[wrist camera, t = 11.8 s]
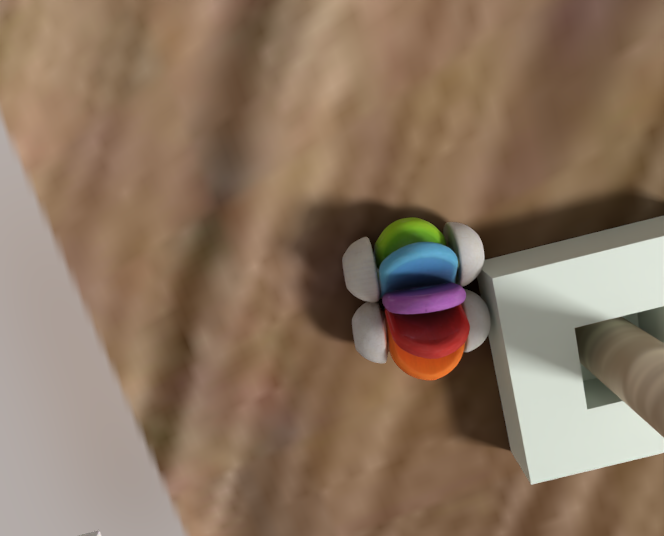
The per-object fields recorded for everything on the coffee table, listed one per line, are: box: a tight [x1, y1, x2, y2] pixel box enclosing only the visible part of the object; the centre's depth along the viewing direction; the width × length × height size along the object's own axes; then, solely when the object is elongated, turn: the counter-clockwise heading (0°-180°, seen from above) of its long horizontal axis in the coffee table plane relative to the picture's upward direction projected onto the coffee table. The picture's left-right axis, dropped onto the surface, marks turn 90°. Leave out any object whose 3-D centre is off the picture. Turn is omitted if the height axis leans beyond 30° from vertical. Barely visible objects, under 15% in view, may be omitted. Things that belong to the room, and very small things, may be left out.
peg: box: [575, 317, 664, 437], centre depth 34 cm, size 4×4×14 cm
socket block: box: [477, 216, 664, 485], centre depth 39 cm, size 14×14×4 cm
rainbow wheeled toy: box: [342, 217, 491, 380], centre depth 36 cm, size 8×10×7 cm
